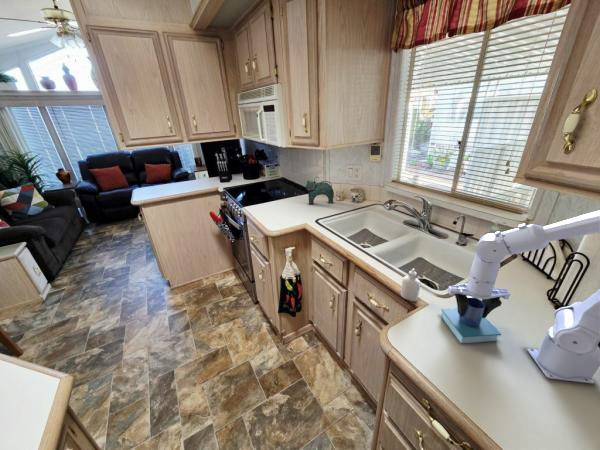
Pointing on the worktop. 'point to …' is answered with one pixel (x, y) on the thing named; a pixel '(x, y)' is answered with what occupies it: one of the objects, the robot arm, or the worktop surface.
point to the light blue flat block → (469, 328)
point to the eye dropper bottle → (410, 286)
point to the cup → (473, 312)
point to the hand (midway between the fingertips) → (471, 314)
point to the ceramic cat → (319, 190)
